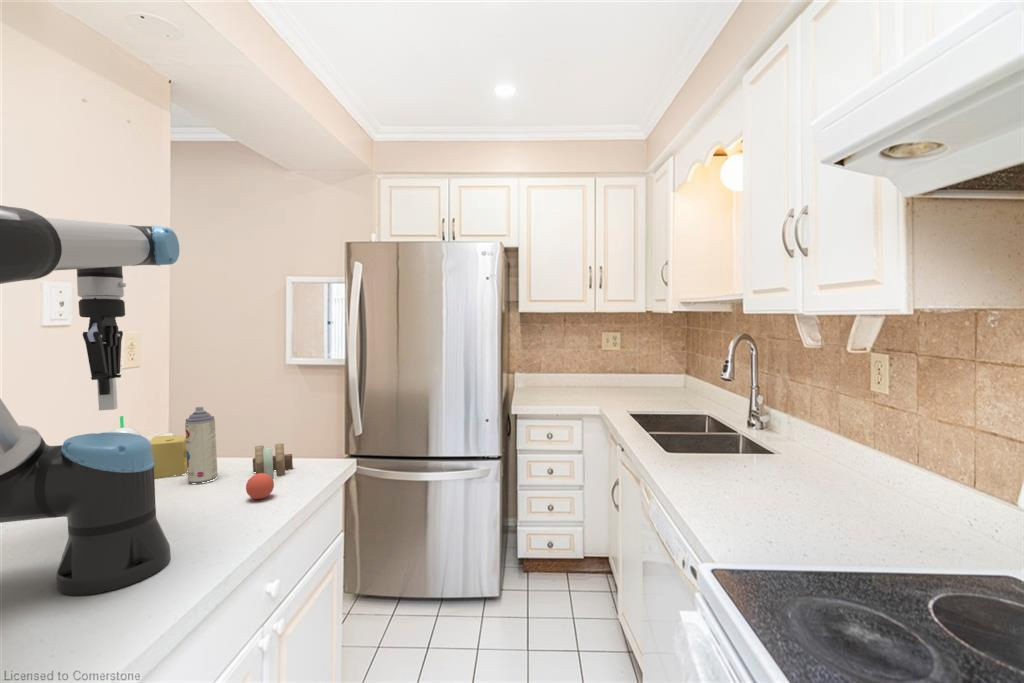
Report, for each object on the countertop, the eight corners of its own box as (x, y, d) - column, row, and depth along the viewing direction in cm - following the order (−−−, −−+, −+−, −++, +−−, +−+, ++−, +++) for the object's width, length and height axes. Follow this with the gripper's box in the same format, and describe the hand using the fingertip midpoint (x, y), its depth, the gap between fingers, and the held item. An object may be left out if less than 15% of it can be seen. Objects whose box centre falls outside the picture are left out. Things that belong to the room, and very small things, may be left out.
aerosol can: (191, 478, 136) (187, 406, 135) (219, 474, 138) (216, 403, 137) (185, 486, 129) (181, 410, 128) (215, 482, 132) (211, 407, 131)
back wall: (292, 469, 142) (291, 455, 142) (253, 473, 139) (252, 459, 138) (292, 467, 144) (292, 453, 144) (254, 471, 141) (253, 457, 140)
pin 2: (284, 475, 136) (283, 445, 136) (275, 476, 135) (274, 445, 135) (285, 473, 138) (284, 443, 138) (276, 474, 138) (275, 444, 137)
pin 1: (264, 477, 135) (263, 446, 134) (255, 478, 134) (254, 447, 133) (265, 475, 137) (264, 445, 136) (256, 476, 136) (255, 445, 136)
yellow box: (196, 465, 148) (194, 432, 148) (185, 476, 138) (183, 440, 138) (155, 470, 145) (153, 436, 145) (141, 481, 135) (138, 444, 134)
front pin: (273, 480, 132) (271, 449, 132) (264, 481, 131) (262, 449, 131) (274, 478, 134) (272, 447, 134) (265, 479, 133) (263, 448, 133)
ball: (272, 500, 117) (271, 475, 116) (244, 504, 115) (243, 479, 114) (275, 492, 122) (274, 468, 122) (248, 496, 120) (247, 471, 120)
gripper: (110, 296, 100) (116, 413, 101) (134, 299, 112) (140, 403, 113) (63, 297, 97) (71, 416, 98) (94, 300, 109) (100, 406, 110)
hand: (108, 409), depth 106 cm, fingers closed
